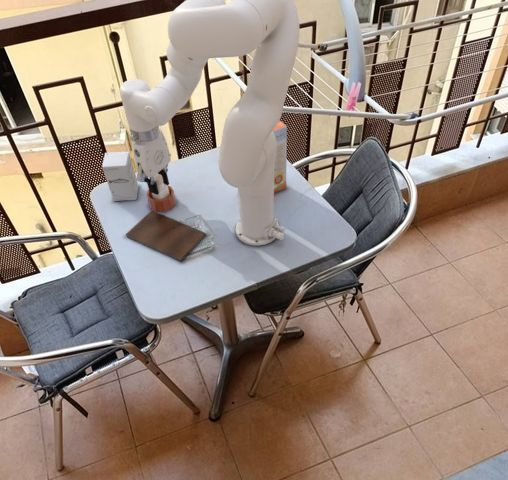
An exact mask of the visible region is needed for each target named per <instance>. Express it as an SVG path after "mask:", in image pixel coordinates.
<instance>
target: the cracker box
mask: <svg viewBox="0 0 508 480" xmlns="http://www.w3.org/2000/svg"><path fill="white" fill-rule="evenodd" d="M287 130H288V126H287V125H286V124H285V123H284V122H283V121H282V120H281V119H280V120H279V122H278V124H277V125H276V127H275V128H274V130H273V133H274V135H275V138H276V142H277V152H276V160H275V167H274V194H275V193H277V192H281V191H283V190H285V189H287V153H288V152H287V149H288V148H287V146H288V144H287V143H288V142H287V141H288V138H287V137H288V131H287Z"/></svg>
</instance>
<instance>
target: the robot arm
mask: <svg viewBox="0 0 508 480" xmlns="http://www.w3.org/2000/svg"><path fill="white" fill-rule="evenodd" d="M167 36H168V39H169V43H168V45H167V47H166V58H167V61H168V63H169V65H170V68H169V70H168V73H167V74H166V75H165V76H164V78H163V79H162V80H161V81H159V82H158V83H157V85H155V86H154V87H153V88H150V85H149V83H148V82H147V81H145V80H143V79H141V78H132V79H127V80H125V81H124V82H122V83H121V85H120V87H119V96H120V99H121V103H122V107H123V110H124V114H125V117H126V121H127V124H128V127H129V131H130V137H129V140H130V141H131V148H132V155H133V159H134V160H133V161H134V164H135V168H136V170H137V174H136V179H137V182H138V183H145V184H147V188H148V190H149V191H150V192H151V193H154V194H156V195H158V194H159V192H158V188H157V184H156V182H154V176H155V175H156V174H161V175H162V178H163V183H164V184H166V185H168V186H170V180H169V176H168V171H169V169H168V166H169V164H170V162H171V160H172V159H171V156H172V154H171V153H170V152H171V151H170V150H169V146H168V143H167V139H166V138H165V135H164V133H163V130H162V129H161V128H160V127H162V126H165V125H166V124H168V123H169V122H170V121H171V120H172V119H173V118H174V116H176V114H177V113H178V112H179V111H180V110H181V109H182V108H183V107H184V106H186V105H187V103H188V101H189V100H190V99H191V97H192V95H193V94H194V92H195V90H196V89H197V87H198V85H199V83H200V81H201V78H202V75H203V70H204V68H205V66H206V65H207V63H208V62H209V60H210V59H222V58H223V59H224V58H238V57H239V58H240V57H242V56H243V57H244V56H246V55H248V54H251V53H252V52H253V51H255V52H254V55H253V57H252V61H251V65H250V73H249V77H248V82H247V85H246V88H245V91H244V93H243V94H242V96H241V97H240V98H239V99H238V100H237V101H236V103H235V104H234V105H233V106H232V107H231V109H230V110H229V112H228V113H227V115H226V118H225V121H224V123H223V129H222V135H221V140H220V141H221V142H220V149H219V154H218V169H219V173H220V175H221V177H222V179H223V180H224V181H225V183H226V184H227V185H229V186H230V187H233V188H235V189H237V197H238V208H239V209H238V210H239V221H237V223H236V225H235V235H236V237H237V238H238V240H239V241H241V242H242V243H244V244H245V245H249V246H264V245H267V244H270V243H272V242H273V241H275V240H276V239H277V240H280V241H283V240H284V239H285V236H286V234H285V231H286V227H283V226H280V224H279V222H278V218H276V217H275V211H274V210H275V203H274V202H275V199H274V198H275V193H274V167H275V160H276V152H277V142H276V138H275V135H274V133H273V130H274V128H275V127H276V125H277V124H278V122H279V120H280V121H281V118H282V116H283V115H282V114H283V111H284V106H285V102H286V98H287V95H288V90H289V87H290V83H291V77H292V74H293V70H294V65H295V62H296V58H297V54H298V49H299V44H300V43H299V42H300V18H299V13H298V9H297V7H296V4H295V1H294V0H230V1H229V2H228V3H227V2H226V1H225V0H184V1H183V2H182V3H180V5H178V6H177V7H176V8H174V10H173V11H172V12H171V14H170V16H169V19H168V22H167Z"/></svg>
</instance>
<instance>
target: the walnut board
mask: <svg viewBox="0 0 508 480" xmlns="http://www.w3.org/2000/svg"><path fill="white" fill-rule="evenodd" d="M125 236H126V238H129V239H131V240H132V241H135V242H137V243H139V244H141V245H144V246H146V247H148V248H151V249H153V250H155V251H157V252H159V253H162V254H164V255H166V256H167V257H170V258H172V259H175V260H176V261H179V262H182V261H183V260H185V258H186V257H187V256H188V255H189V254H190V253H191V252H192V251H193V250H194V249H195V248H196V247H197V246H198V245H199V244H200V242H201V241H202V240H203V239H204V238H205V237H206V236H207V233H206V232H204V231H202V230H200V229H197V228H195V227H192V226H190V225H187V224H186V223H183V222H180V221H178V220H176V219H173V218H171V217H169V216H167V215H164V214H161V213H160V212H156V211H154V210H150V211H149V212H148V213H147V214H146V215H145V216H144V217H143V218H142V219H140V220H139V221H138V222H137V223H136V224H135V225H134V226H133V227H132V228H131V229H130V230H129V231H128V232H127V233H126V234H125Z"/></svg>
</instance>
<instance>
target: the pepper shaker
mask: <svg viewBox="0 0 508 480" xmlns="http://www.w3.org/2000/svg"><path fill="white" fill-rule="evenodd" d="M154 182H156V184H157V188H158V192H159V194H158V195H156V194H154V193H152V195H153V199H154V200H163V199H166V198H168V197H169V196H170V193H169V189H168V186H169V185H168V186H167V185H166V184H164V183H163V178H162V175H161V174H158V173H157V174H156V175H155V176H154Z"/></svg>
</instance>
